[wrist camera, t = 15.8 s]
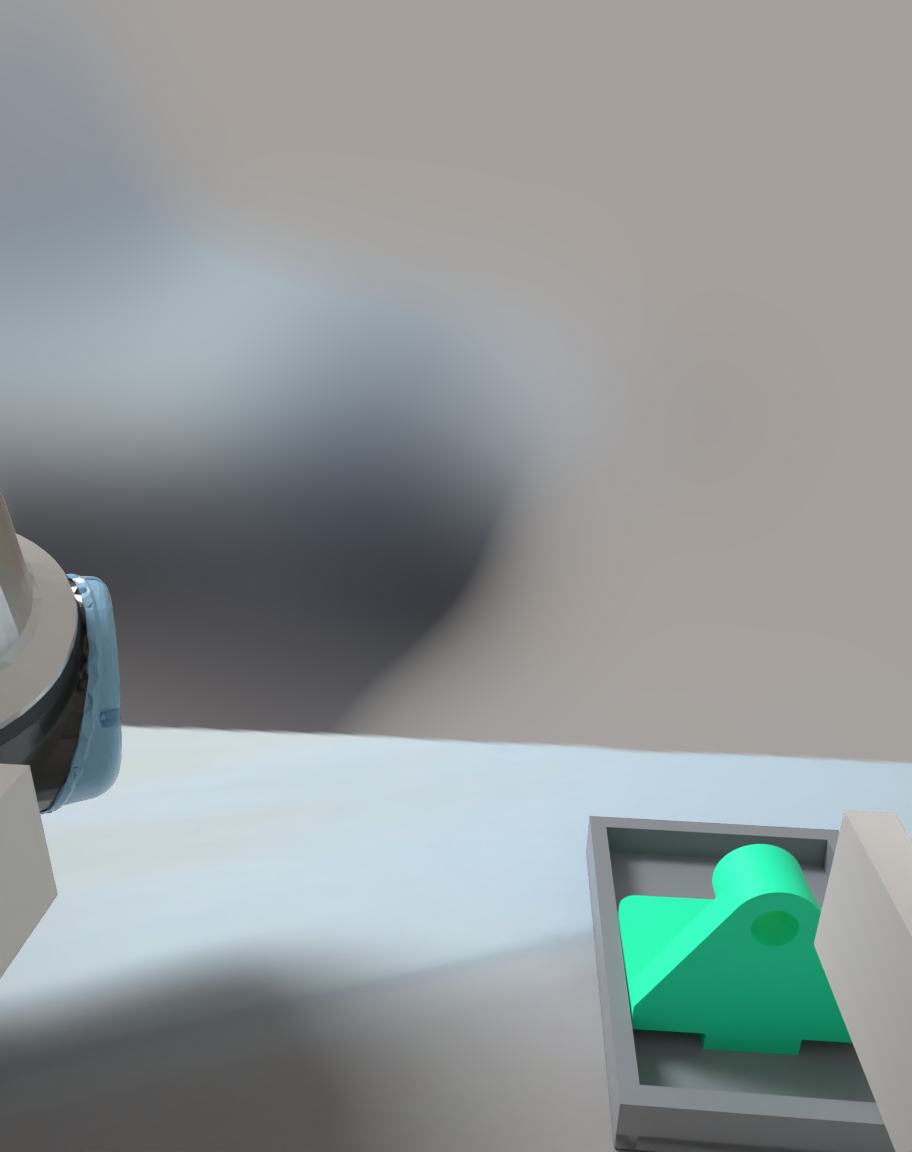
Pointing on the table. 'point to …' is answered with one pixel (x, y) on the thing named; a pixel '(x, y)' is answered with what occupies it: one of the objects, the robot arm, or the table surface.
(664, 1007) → the green mounting bracket
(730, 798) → the table surface
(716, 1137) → the tray
